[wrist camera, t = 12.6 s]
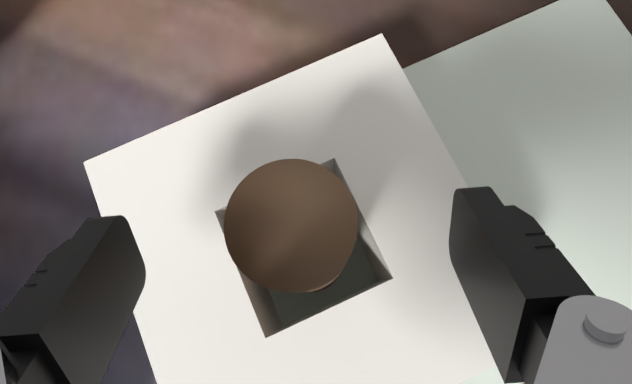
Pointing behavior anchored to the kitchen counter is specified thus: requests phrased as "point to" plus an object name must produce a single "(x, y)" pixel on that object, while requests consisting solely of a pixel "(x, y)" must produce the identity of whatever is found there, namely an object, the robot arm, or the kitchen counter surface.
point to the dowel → (291, 226)
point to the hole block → (373, 234)
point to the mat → (533, 140)
